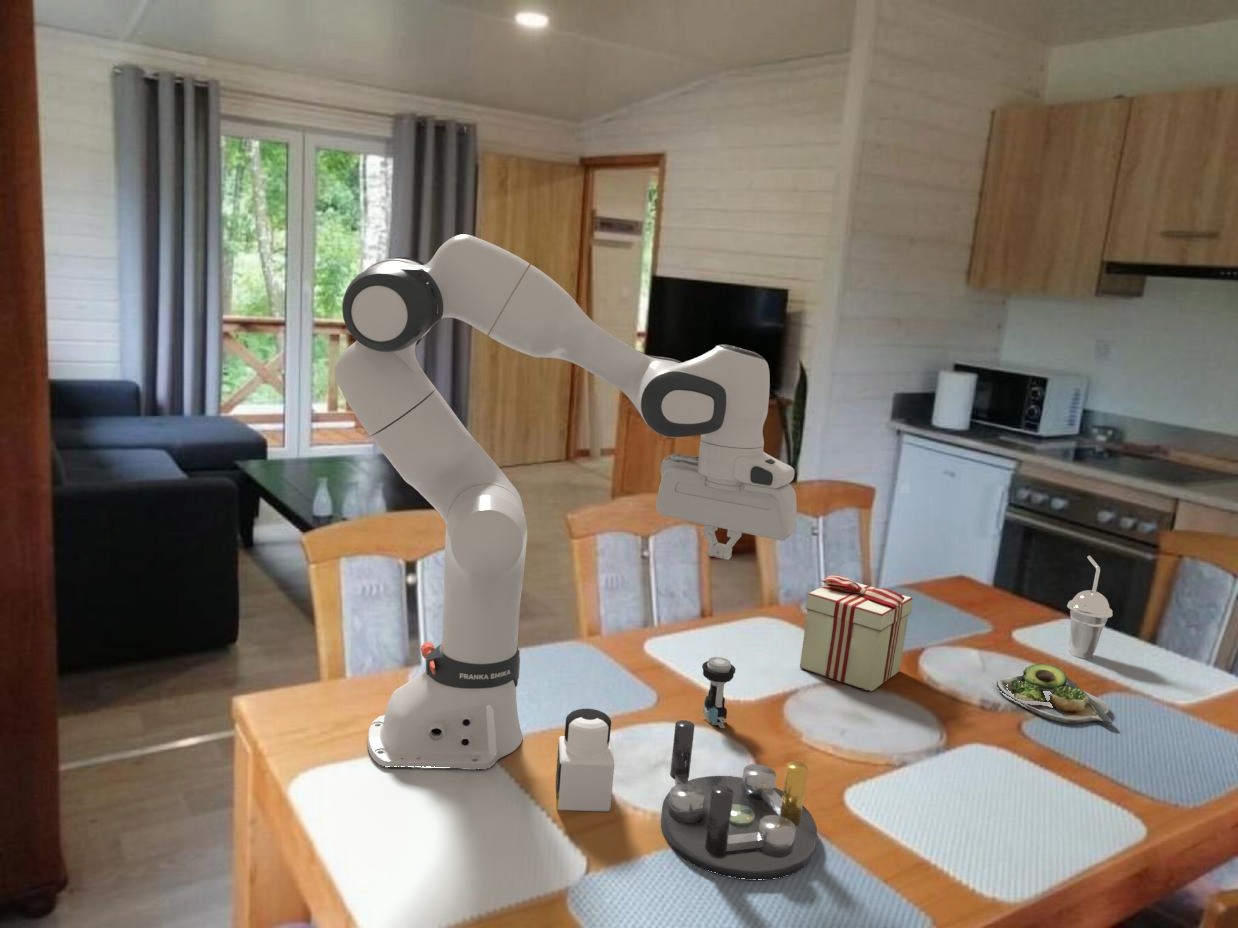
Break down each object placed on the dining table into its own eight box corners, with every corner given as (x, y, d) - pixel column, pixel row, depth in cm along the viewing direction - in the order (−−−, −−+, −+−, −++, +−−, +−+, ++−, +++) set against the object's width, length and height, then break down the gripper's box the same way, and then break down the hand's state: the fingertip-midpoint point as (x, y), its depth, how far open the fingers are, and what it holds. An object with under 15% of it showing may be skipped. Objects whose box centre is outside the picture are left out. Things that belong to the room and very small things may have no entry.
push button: (737, 729, 148) (744, 671, 146) (706, 731, 147) (713, 672, 145) (722, 710, 155) (728, 654, 153) (692, 711, 153) (698, 655, 151)
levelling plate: (694, 889, 109) (696, 869, 108) (640, 795, 127) (642, 778, 127) (844, 869, 115) (847, 851, 114) (772, 782, 133) (774, 766, 133)
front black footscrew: (782, 833, 117) (790, 774, 116) (799, 854, 113) (807, 793, 112) (698, 842, 114) (705, 782, 112) (712, 864, 110) (719, 802, 108)
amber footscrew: (735, 784, 128) (742, 730, 126) (763, 780, 130) (769, 726, 128) (780, 832, 117) (787, 773, 116) (809, 827, 119) (817, 769, 118)
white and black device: (555, 781, 129) (561, 701, 126) (606, 783, 130) (613, 703, 127) (556, 811, 122) (562, 727, 120) (610, 812, 123) (617, 729, 120)
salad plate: (1141, 725, 163) (1146, 701, 162) (1068, 738, 156) (1073, 713, 155) (1051, 678, 180) (1055, 656, 180) (982, 688, 173) (986, 665, 172)
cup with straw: (1056, 654, 192) (1073, 562, 188) (1061, 642, 200) (1078, 553, 196) (1101, 666, 188) (1120, 572, 184) (1105, 653, 195) (1123, 562, 191)
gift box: (907, 664, 180) (920, 580, 177) (878, 696, 165) (892, 605, 162) (823, 640, 189) (834, 559, 186) (789, 668, 174) (800, 581, 170)
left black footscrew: (704, 823, 118) (710, 764, 116) (669, 821, 118) (676, 762, 116) (694, 775, 129) (699, 721, 128) (662, 773, 129) (668, 719, 127)
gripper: (653, 453, 132) (644, 546, 135) (792, 478, 123) (779, 577, 126) (671, 448, 138) (663, 537, 140) (805, 471, 128) (793, 566, 131)
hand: (719, 557), depth 133 cm, fingers closed
